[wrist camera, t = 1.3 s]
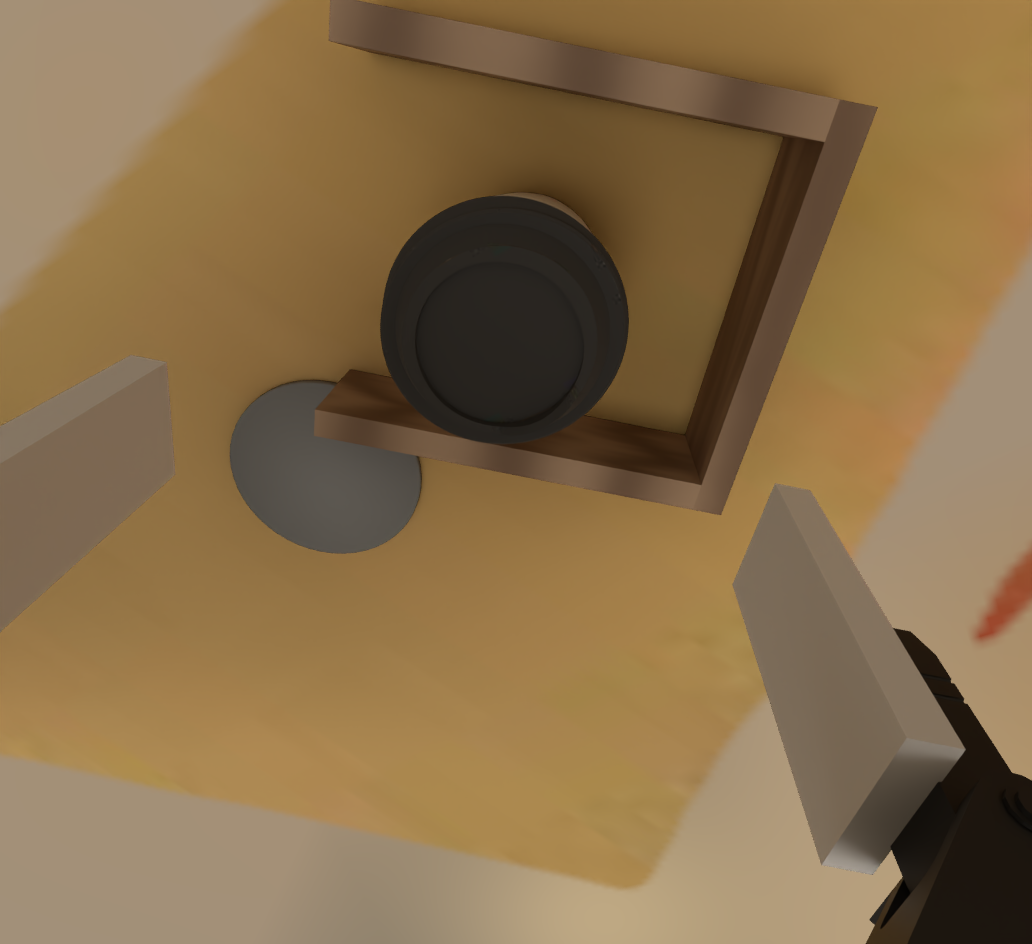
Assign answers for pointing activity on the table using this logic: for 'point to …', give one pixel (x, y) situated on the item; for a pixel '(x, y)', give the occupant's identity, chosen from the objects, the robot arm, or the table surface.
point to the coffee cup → (504, 319)
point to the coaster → (319, 475)
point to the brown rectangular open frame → (754, 301)
